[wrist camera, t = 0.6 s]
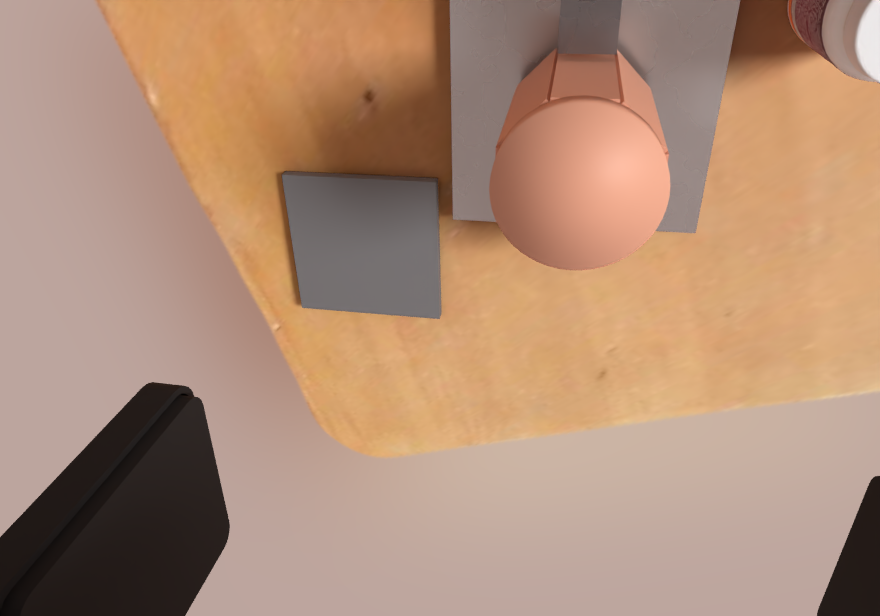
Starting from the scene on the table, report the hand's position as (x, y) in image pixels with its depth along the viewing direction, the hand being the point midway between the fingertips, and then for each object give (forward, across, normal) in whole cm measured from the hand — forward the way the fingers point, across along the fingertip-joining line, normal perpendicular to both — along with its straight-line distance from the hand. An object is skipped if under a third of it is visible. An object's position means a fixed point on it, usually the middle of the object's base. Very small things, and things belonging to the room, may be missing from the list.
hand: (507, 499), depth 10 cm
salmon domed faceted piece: (+26, -1, +1) cm, 26 cm away
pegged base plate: (+29, -1, +1) cm, 29 cm away
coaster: (+29, +11, +10) cm, 33 cm away
